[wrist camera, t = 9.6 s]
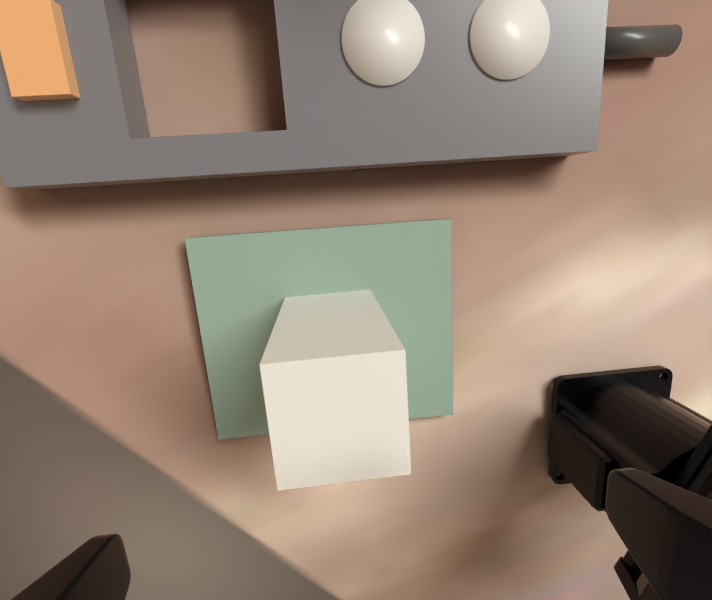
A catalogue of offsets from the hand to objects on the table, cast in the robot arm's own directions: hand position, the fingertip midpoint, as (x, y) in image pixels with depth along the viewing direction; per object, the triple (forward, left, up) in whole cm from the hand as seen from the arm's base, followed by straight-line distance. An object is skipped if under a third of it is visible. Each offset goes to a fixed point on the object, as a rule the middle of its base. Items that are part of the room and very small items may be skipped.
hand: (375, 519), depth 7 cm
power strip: (-1, -12, -13) cm, 17 cm away
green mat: (+1, 0, -13) cm, 13 cm away
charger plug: (+1, 0, -12) cm, 12 cm away
